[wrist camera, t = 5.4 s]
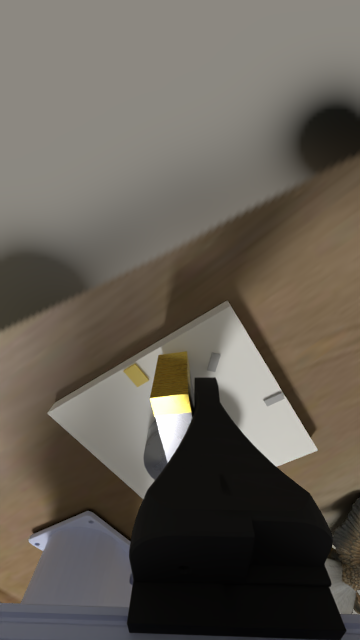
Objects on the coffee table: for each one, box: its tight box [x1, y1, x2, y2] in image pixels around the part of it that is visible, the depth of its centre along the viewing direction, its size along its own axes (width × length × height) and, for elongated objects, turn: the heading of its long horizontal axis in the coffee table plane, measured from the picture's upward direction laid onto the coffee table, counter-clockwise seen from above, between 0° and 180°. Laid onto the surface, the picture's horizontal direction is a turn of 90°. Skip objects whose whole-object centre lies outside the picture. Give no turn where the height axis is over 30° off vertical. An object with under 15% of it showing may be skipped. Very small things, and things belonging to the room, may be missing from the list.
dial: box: [143, 351, 194, 480], centre depth 13 cm, size 10×6×4 cm, turn 9°
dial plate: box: [47, 300, 318, 499], centre depth 16 cm, size 13×14×1 cm
